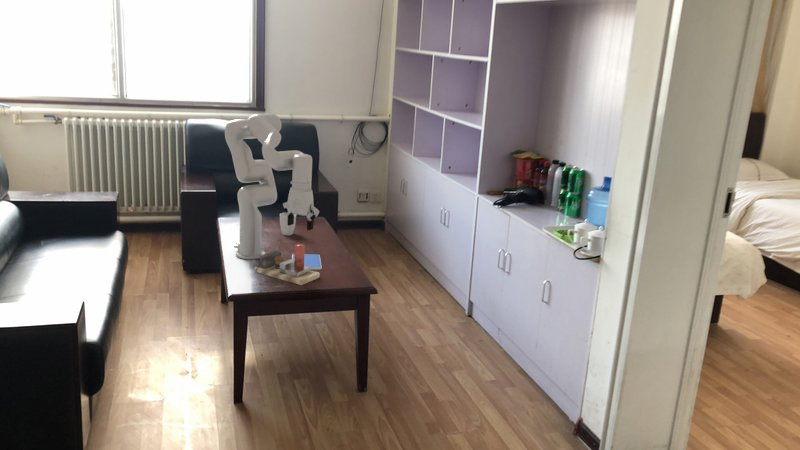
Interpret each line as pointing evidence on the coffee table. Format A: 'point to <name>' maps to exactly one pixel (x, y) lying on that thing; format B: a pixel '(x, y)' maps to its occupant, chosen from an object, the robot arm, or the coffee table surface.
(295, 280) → the base
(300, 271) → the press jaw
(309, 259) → the tablet computer
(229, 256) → the coffee table surface
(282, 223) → the cup
